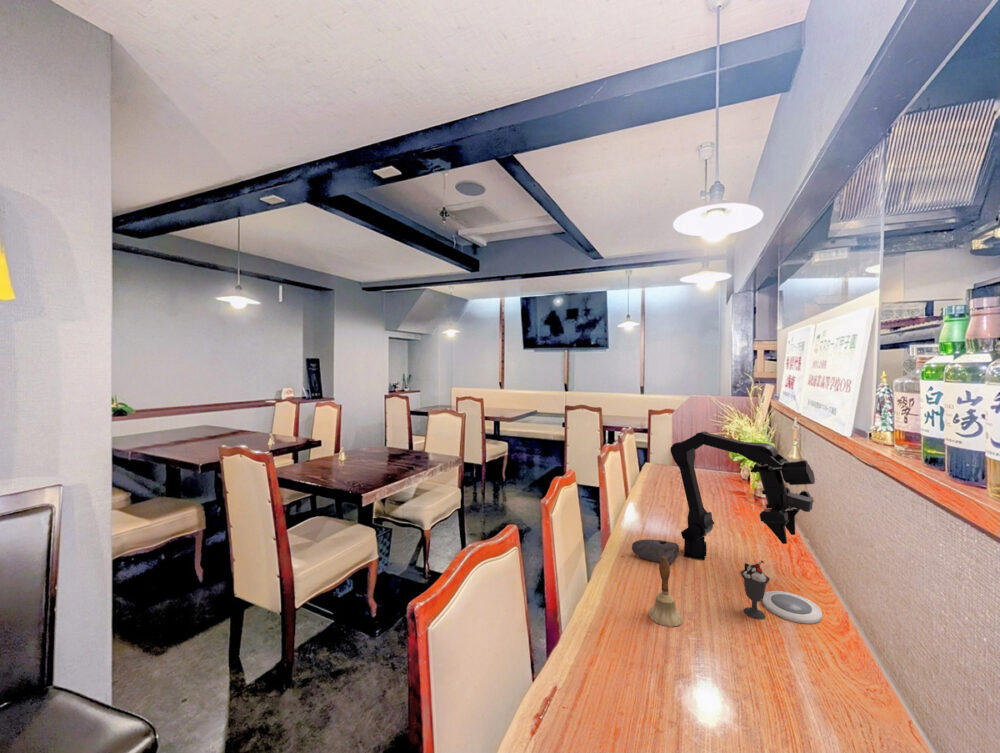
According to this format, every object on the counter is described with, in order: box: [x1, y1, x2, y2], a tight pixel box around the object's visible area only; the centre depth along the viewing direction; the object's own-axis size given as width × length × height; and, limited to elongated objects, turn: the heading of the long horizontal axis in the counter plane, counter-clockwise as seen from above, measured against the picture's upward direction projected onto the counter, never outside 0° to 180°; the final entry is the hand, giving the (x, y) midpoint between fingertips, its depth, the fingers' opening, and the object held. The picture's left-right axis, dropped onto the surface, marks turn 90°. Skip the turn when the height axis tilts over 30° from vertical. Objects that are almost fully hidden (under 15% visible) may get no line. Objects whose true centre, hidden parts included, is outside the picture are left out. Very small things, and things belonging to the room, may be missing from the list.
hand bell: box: [648, 556, 684, 627], centre depth 105 cm, size 8×8×16 cm
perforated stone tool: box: [631, 539, 680, 564], centre depth 136 cm, size 15×5×7 cm, turn 61°
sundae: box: [739, 560, 771, 620], centre depth 106 cm, size 7×7×15 cm
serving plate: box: [761, 590, 823, 625], centre depth 108 cm, size 13×13×1 cm
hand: (789, 539), depth 119 cm, fingers open, 9 cm apart
